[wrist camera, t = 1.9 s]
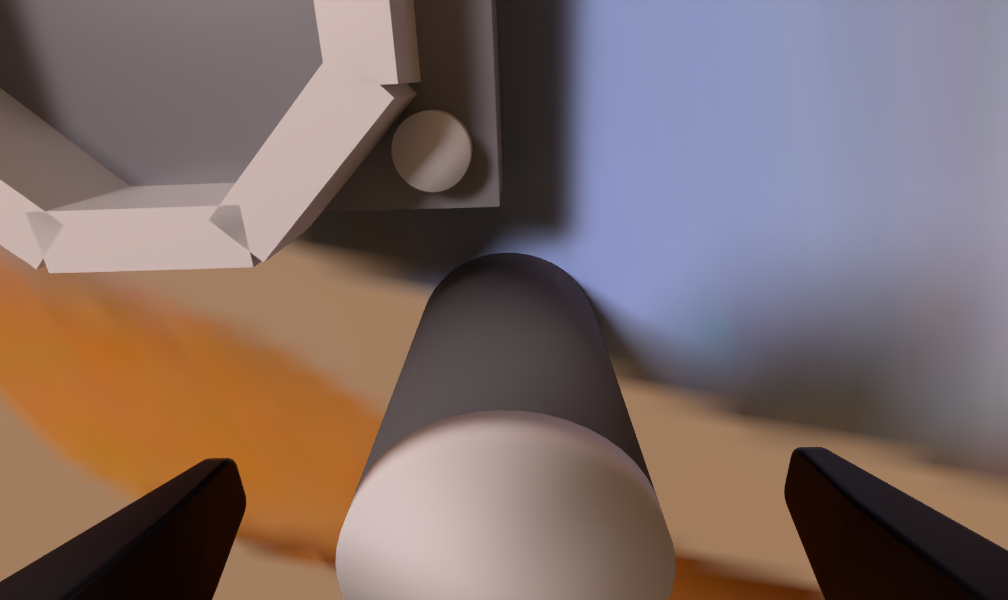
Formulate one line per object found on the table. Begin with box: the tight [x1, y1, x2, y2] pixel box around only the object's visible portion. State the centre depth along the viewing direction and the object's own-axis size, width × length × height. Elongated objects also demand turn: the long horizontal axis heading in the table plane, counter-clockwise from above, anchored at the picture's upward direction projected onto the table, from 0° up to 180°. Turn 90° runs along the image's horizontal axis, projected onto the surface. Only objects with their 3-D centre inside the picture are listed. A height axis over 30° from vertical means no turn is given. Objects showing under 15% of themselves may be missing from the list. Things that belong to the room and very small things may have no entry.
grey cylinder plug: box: [336, 253, 675, 600], centre depth 10 cm, size 4×4×7 cm
